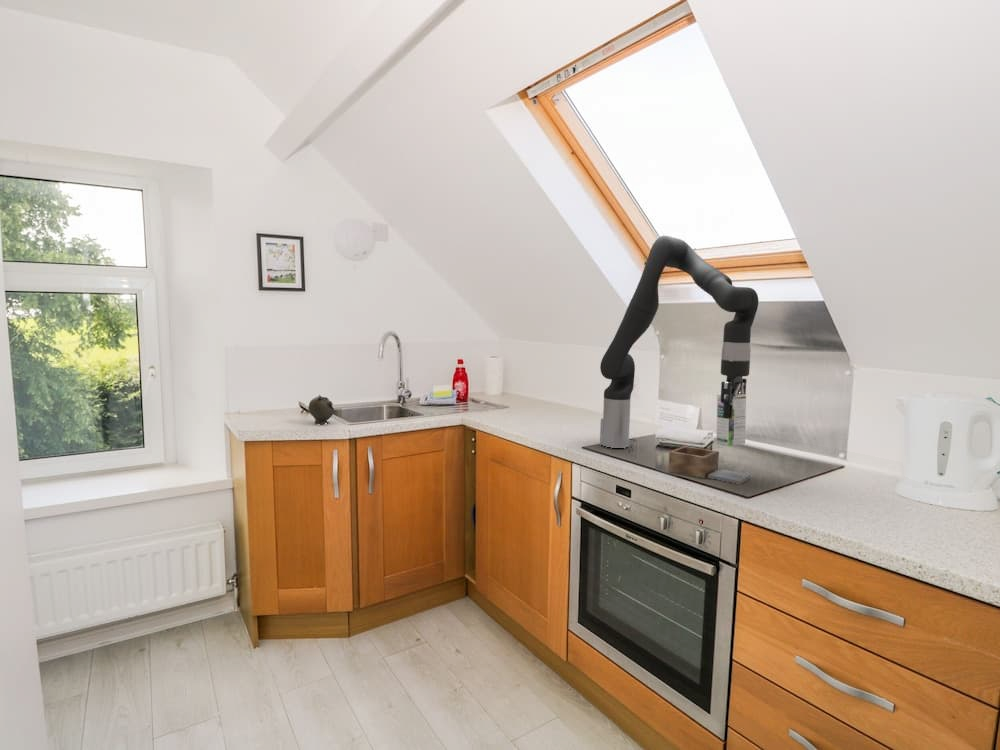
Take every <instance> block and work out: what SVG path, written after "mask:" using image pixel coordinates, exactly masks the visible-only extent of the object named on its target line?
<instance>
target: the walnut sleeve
mask: <svg viewBox="0 0 1000 750" xmlns="http://www.w3.org/2000/svg"><path fill="white" fill-rule="evenodd" d="M668 452H669V457H668V472H669V471H671V472H670V473H674V472H676V473H675V474H679V473H681V474H680V475H684V474H685V476H689V475H691V477H694V476H696V477H695V478H699V477H702V478H701V479H706V478H708V474H710V473H712V472H714V471H716V470H718V469H719V457H720V451H719V450H712V449H706V448H701V447H694V446H687V445H683V446H681V447H677V448H675V449H673V450H670V451H668ZM705 477H706V478H705Z"/></svg>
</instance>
